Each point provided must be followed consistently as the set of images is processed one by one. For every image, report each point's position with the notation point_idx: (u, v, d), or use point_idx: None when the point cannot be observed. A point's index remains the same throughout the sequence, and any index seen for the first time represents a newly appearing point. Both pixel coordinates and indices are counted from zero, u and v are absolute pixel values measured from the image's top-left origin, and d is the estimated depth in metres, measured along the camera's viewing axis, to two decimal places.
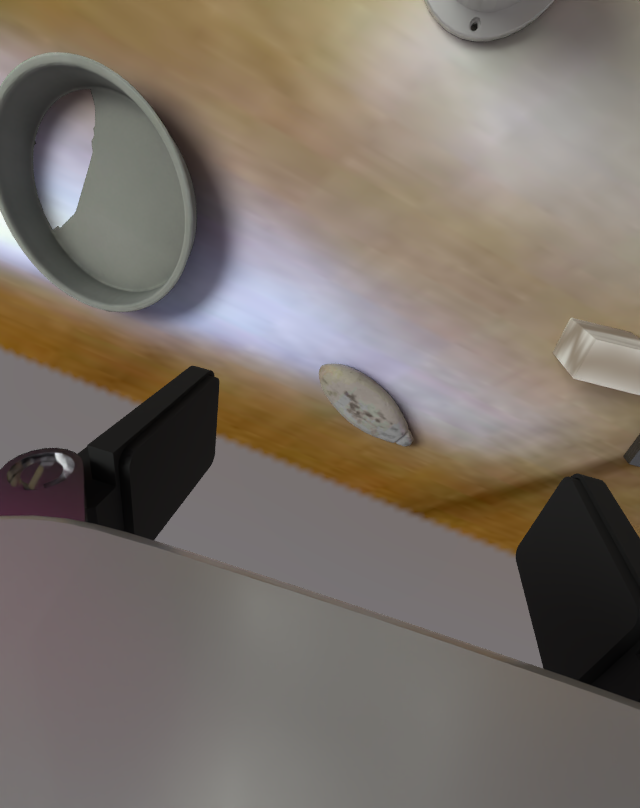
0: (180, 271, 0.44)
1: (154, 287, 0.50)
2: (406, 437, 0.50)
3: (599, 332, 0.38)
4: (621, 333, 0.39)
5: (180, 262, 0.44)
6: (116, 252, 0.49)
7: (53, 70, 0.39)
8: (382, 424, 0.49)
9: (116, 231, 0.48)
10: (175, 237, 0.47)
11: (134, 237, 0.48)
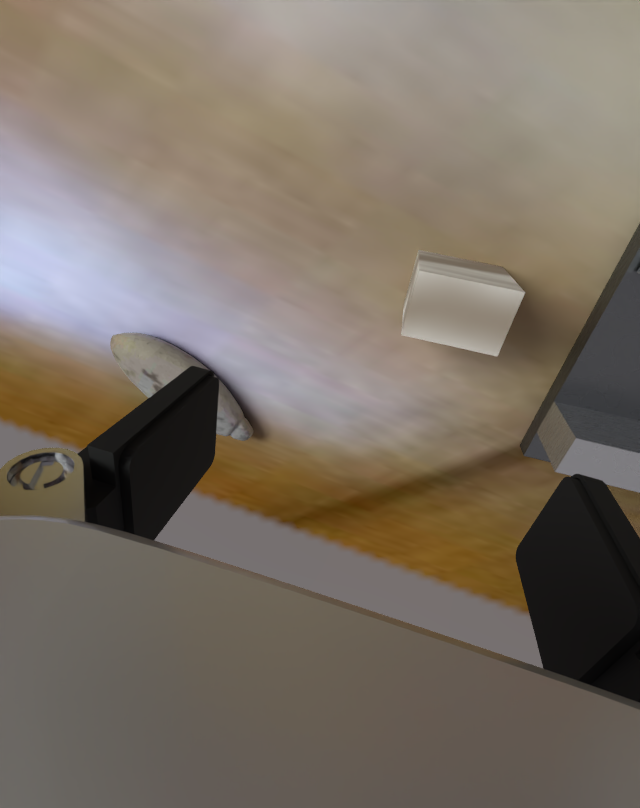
0: None
1: None
2: (240, 429, 0.38)
3: (442, 264, 0.25)
4: (483, 267, 0.27)
5: None
6: None
7: None
8: None
9: None
10: None
11: None
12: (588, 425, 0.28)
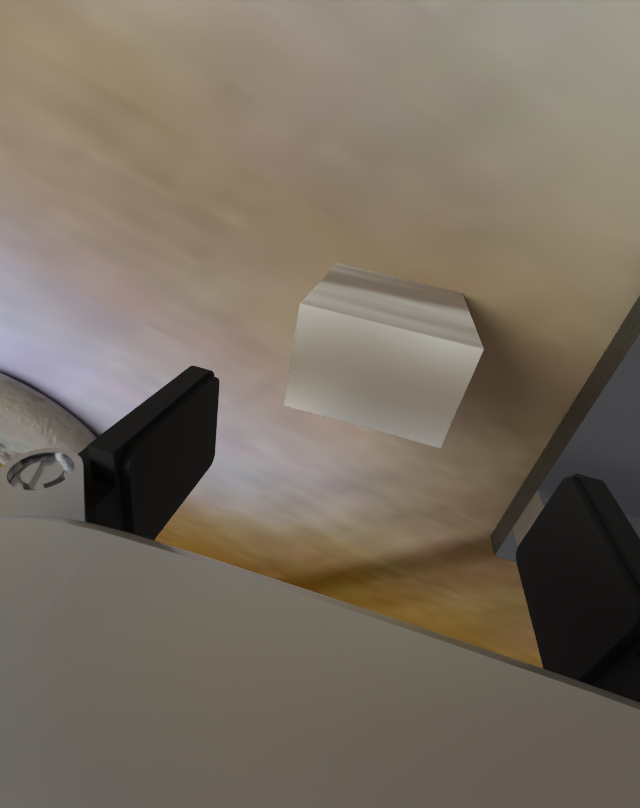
0: None
1: None
2: None
3: (357, 290, 0.15)
4: (428, 294, 0.17)
5: None
6: None
7: None
8: None
9: None
10: None
11: None
12: None
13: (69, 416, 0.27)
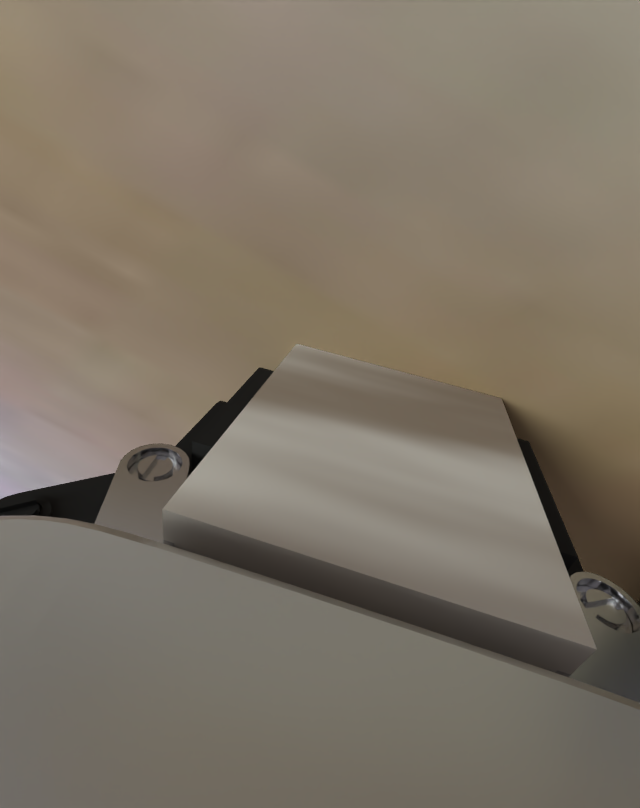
0: None
1: None
2: None
3: (316, 423, 0.08)
4: (447, 414, 0.10)
5: None
6: None
7: None
8: None
9: None
10: None
11: None
12: None
13: None
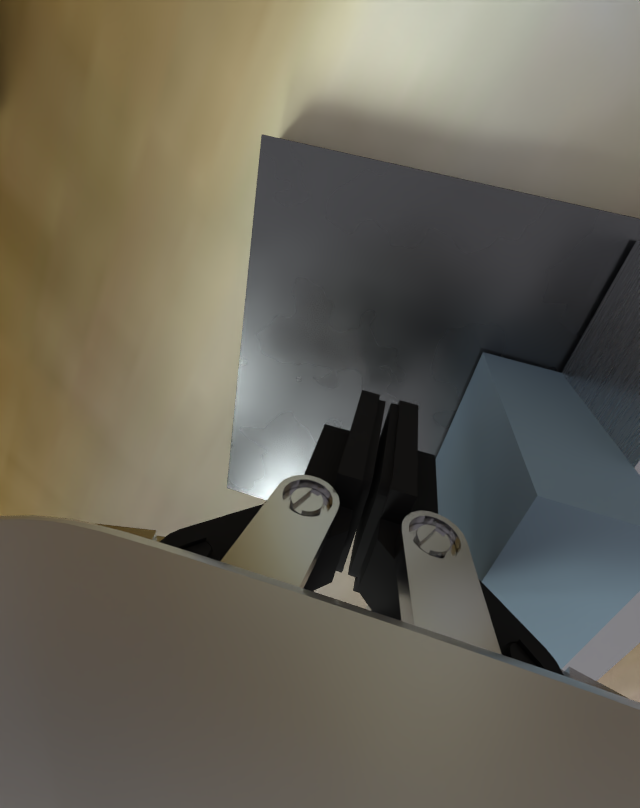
0: None
1: None
2: None
3: None
4: None
5: None
6: None
7: None
8: None
9: None
10: None
11: None
12: None
13: None
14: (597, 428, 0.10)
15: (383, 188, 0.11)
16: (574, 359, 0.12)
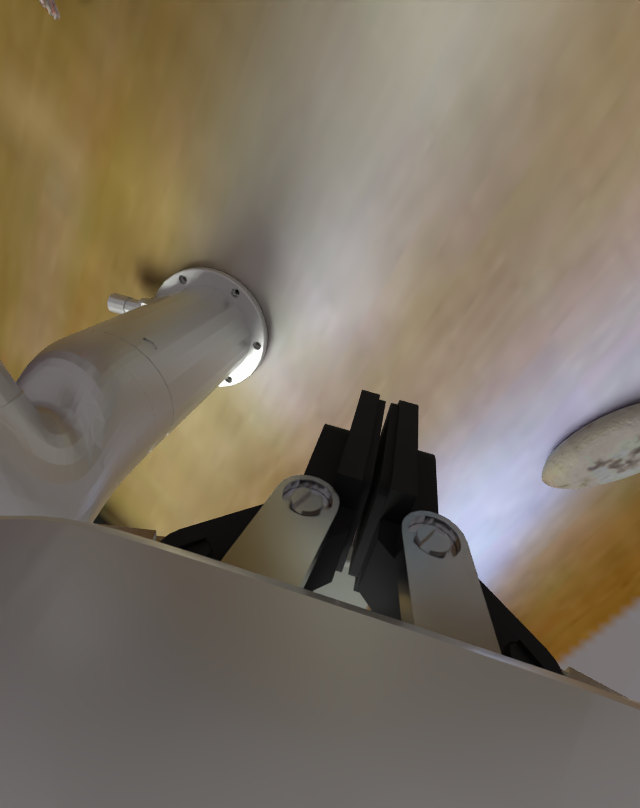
0: None
1: None
2: None
3: None
4: None
5: None
6: None
7: None
8: None
9: None
10: None
11: None
12: None
13: (611, 413, 0.36)
14: None
15: None
16: None
